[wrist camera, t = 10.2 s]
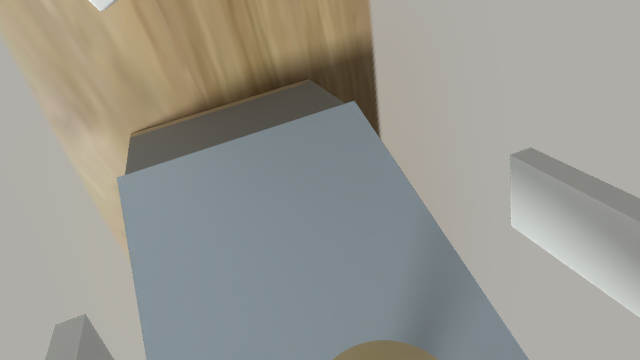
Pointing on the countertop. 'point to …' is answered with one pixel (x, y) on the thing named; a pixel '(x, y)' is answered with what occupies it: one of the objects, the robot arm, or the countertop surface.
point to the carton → (226, 123)
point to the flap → (300, 254)
